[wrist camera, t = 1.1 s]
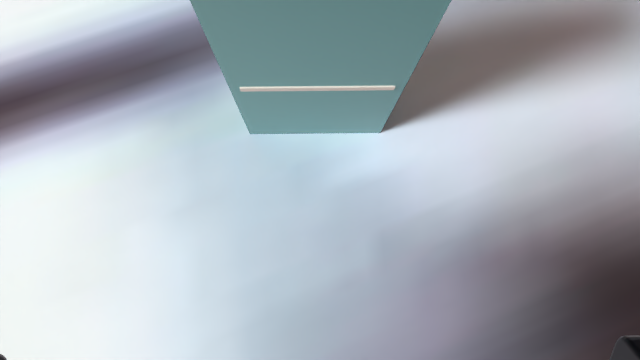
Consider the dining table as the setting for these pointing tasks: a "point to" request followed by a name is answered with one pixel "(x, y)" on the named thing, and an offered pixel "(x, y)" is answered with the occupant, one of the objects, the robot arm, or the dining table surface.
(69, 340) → the dining table surface
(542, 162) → the dining table surface
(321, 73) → the teal domino
